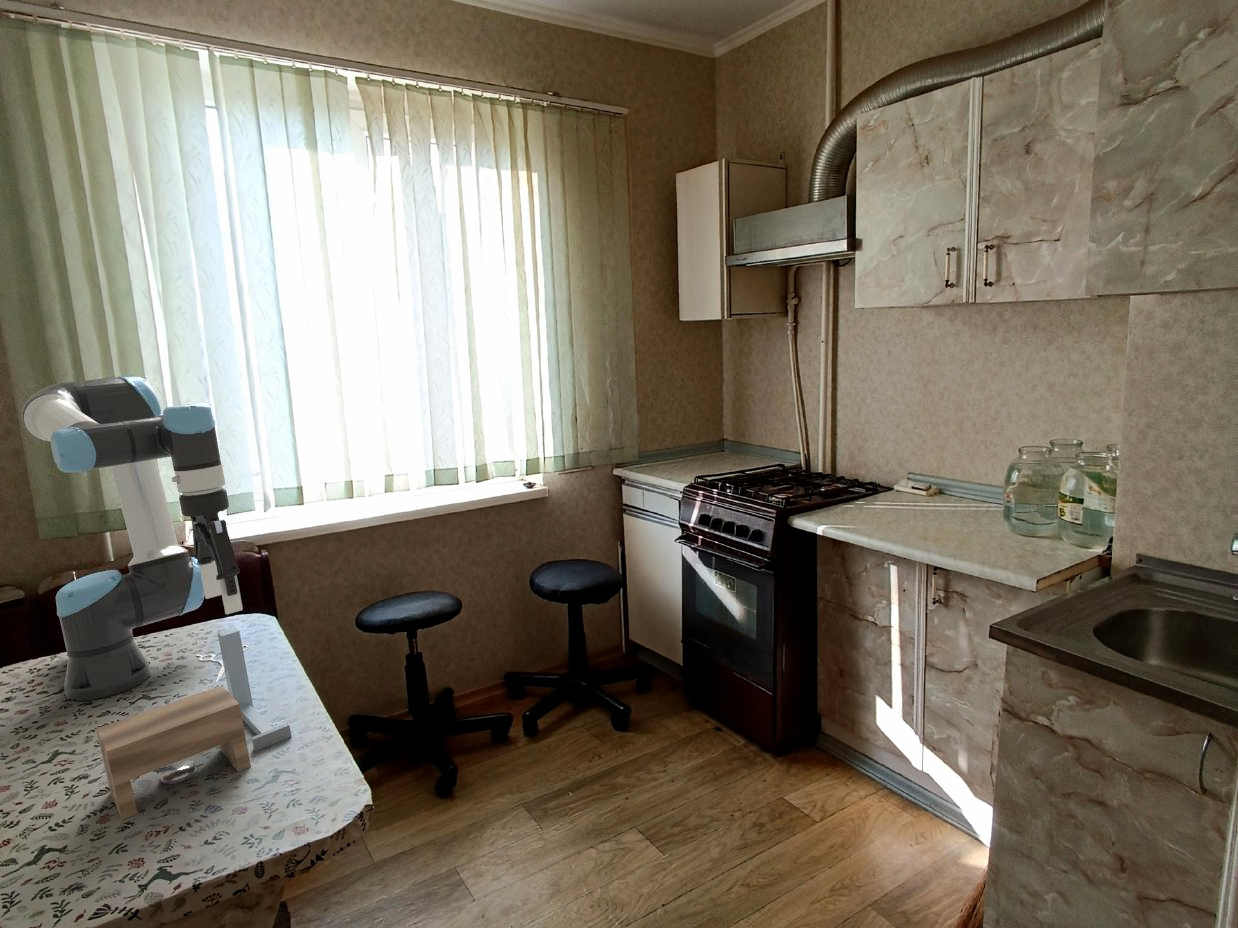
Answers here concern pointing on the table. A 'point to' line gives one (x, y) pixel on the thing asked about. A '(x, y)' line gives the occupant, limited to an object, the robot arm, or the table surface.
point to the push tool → (246, 691)
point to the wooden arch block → (170, 740)
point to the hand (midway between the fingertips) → (223, 603)
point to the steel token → (178, 772)
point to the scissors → (215, 661)
